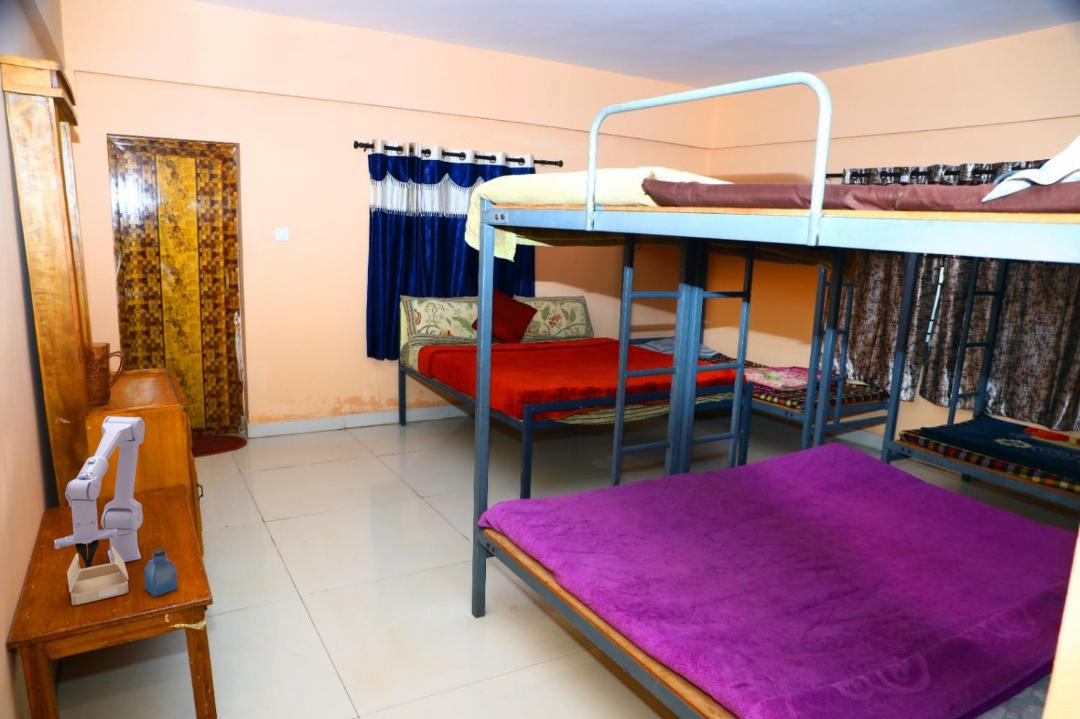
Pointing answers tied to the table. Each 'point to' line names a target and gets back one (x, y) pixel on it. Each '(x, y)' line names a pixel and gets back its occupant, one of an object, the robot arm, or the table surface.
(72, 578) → the flap
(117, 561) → the flap
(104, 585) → the carton
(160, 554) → the perfume bottle
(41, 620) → the table surface
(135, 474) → the robot arm
